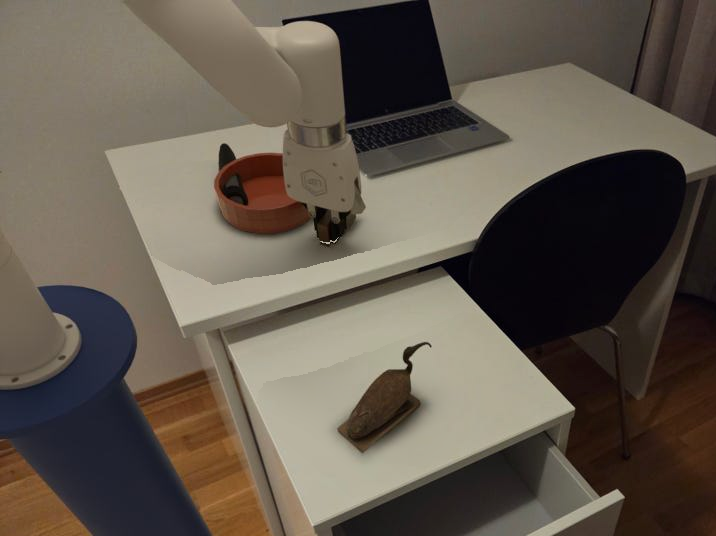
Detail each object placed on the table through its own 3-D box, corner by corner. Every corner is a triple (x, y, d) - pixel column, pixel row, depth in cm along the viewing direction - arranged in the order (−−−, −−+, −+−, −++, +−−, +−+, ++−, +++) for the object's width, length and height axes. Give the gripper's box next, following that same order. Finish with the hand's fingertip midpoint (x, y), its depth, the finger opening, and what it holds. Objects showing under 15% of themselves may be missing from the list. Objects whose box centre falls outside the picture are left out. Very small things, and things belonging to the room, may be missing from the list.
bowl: (201, 219, 99) (193, 195, 96) (252, 168, 109) (246, 144, 106) (291, 243, 97) (287, 219, 94) (335, 188, 107) (332, 165, 104)
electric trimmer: (239, 157, 111) (235, 140, 109) (250, 208, 102) (245, 191, 99) (216, 160, 110) (212, 143, 108) (225, 212, 101) (220, 195, 98)
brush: (335, 249, 97) (333, 227, 94) (313, 243, 97) (310, 222, 94) (358, 217, 102) (356, 196, 99) (337, 212, 103) (335, 191, 100)
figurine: (418, 367, 83) (417, 321, 77) (443, 385, 82) (445, 340, 75) (336, 432, 76) (328, 387, 69) (362, 454, 74) (357, 410, 68)
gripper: (248, 126, 83) (272, 238, 97) (361, 153, 81) (368, 264, 95) (277, 100, 88) (295, 210, 102) (383, 125, 86) (387, 234, 100)
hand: (330, 235), depth 98 cm, fingers closed on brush
